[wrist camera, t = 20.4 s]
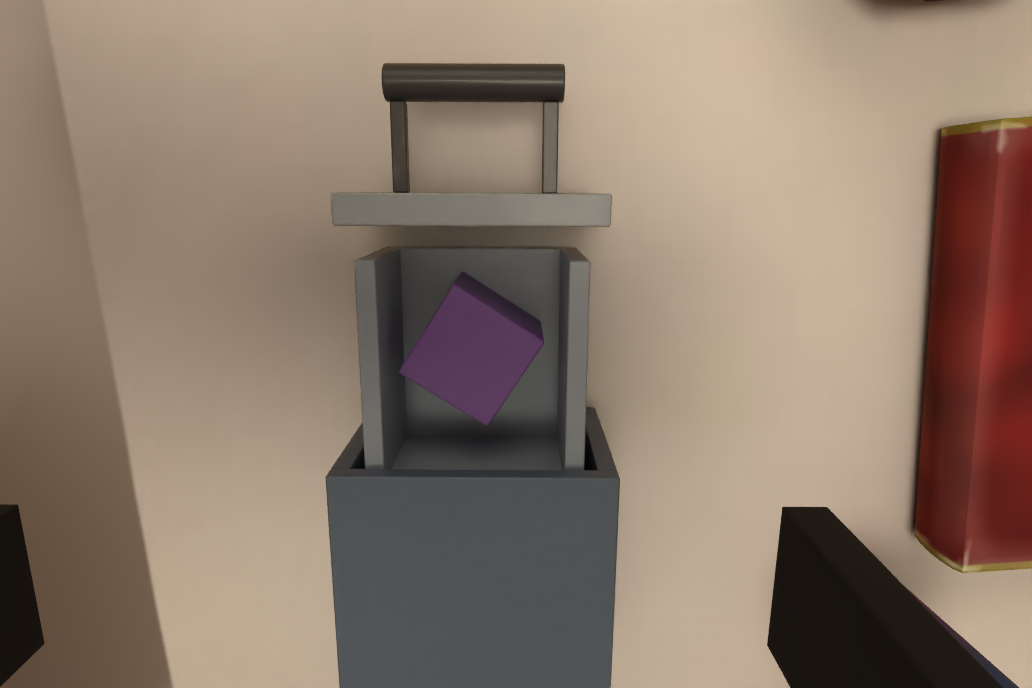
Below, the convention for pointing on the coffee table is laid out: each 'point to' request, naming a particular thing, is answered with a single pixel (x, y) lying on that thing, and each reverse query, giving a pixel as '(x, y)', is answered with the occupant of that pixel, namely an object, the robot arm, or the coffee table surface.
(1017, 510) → the hardcover book
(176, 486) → the coffee table surface
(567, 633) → the small cabinet
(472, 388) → the purple matte cube
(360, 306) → the drawer
